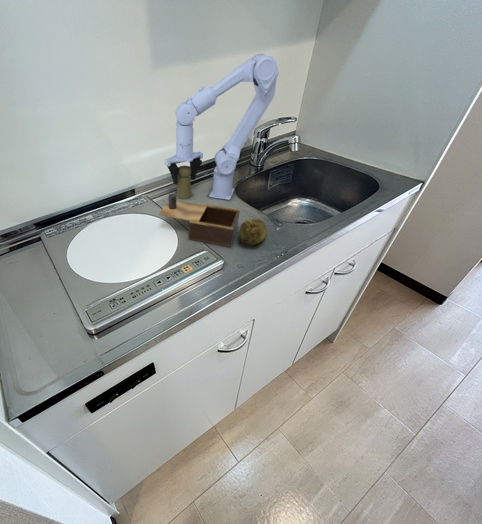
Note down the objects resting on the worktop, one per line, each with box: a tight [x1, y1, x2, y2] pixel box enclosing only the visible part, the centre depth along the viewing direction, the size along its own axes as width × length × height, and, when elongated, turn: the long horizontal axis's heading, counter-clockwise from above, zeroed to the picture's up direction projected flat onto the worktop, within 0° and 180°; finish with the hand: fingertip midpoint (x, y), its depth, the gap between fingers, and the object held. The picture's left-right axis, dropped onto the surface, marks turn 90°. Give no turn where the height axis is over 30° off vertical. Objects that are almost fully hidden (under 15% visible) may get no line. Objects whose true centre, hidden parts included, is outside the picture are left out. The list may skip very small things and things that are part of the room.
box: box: [188, 203, 241, 248], centre depth 85 cm, size 11×13×6 cm
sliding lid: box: [158, 193, 208, 222], centre depth 84 cm, size 9×13×5 cm
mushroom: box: [175, 165, 193, 200], centre depth 104 cm, size 6×6×11 cm
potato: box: [239, 218, 268, 246], centre depth 81 cm, size 8×13×8 cm, turn 132°
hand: (184, 181), depth 104 cm, fingers open, 7 cm apart
